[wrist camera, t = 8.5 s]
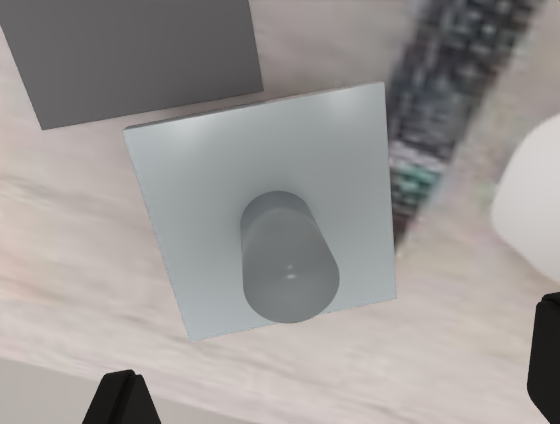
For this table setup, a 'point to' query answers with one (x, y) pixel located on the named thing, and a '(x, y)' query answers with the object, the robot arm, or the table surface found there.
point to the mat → (128, 55)
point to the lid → (271, 207)
